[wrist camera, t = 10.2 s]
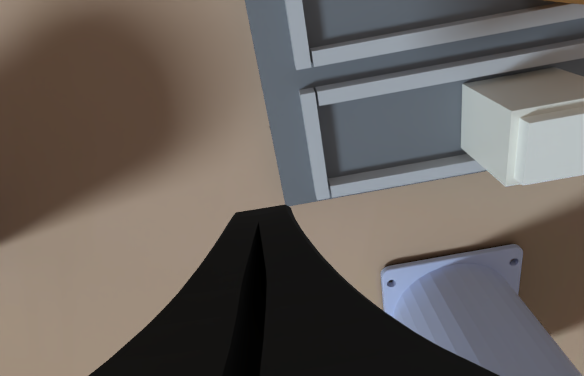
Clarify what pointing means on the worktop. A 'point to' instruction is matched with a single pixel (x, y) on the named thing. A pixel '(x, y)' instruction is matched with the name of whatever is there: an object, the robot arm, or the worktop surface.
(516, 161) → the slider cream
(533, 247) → the worktop surface
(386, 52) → the panel
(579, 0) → the slider orange
